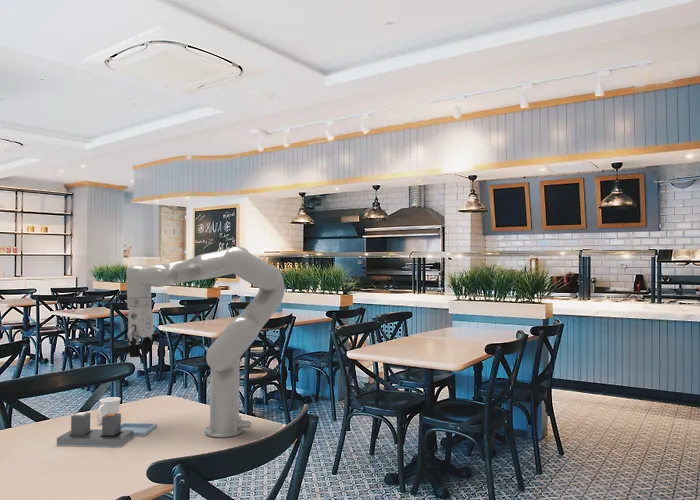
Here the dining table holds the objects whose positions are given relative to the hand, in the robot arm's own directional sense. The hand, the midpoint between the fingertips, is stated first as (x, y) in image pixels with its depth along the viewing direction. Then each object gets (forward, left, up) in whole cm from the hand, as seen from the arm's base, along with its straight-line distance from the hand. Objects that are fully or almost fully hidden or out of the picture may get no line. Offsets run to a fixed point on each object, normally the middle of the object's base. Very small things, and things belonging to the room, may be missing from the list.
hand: (141, 354), depth 183 cm
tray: (+3, -1, -26) cm, 27 cm away
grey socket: (+10, +10, -26) cm, 30 cm away
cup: (+17, -11, -27) cm, 33 cm away
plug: (+15, +10, -25) cm, 31 cm away
